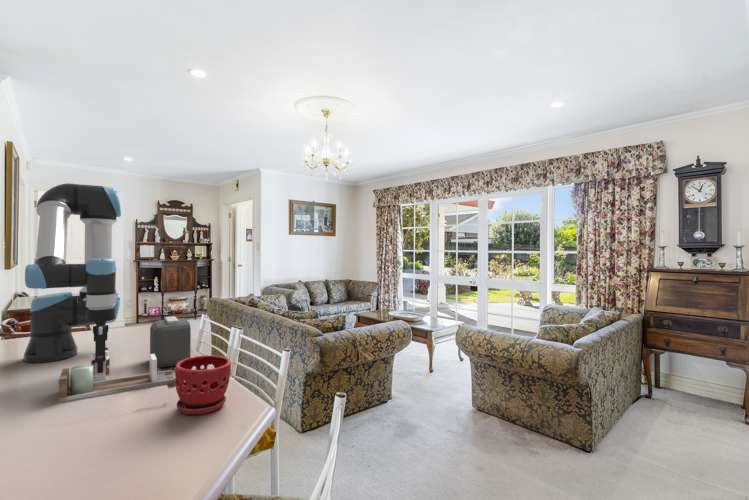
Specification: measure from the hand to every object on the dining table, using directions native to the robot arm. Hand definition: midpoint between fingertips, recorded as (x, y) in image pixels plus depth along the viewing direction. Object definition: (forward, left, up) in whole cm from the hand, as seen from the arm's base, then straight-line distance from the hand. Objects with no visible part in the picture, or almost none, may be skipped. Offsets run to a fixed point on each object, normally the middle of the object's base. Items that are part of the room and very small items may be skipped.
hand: (100, 377), depth 119 cm
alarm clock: (-7, +20, 0) cm, 21 cm away
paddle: (+15, +14, +1) cm, 21 cm away
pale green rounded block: (+15, -4, +1) cm, 16 cm away
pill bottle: (0, 0, 0) cm, 0 cm away
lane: (+15, +5, 0) cm, 16 cm away
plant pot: (+41, +22, 0) cm, 47 cm away
